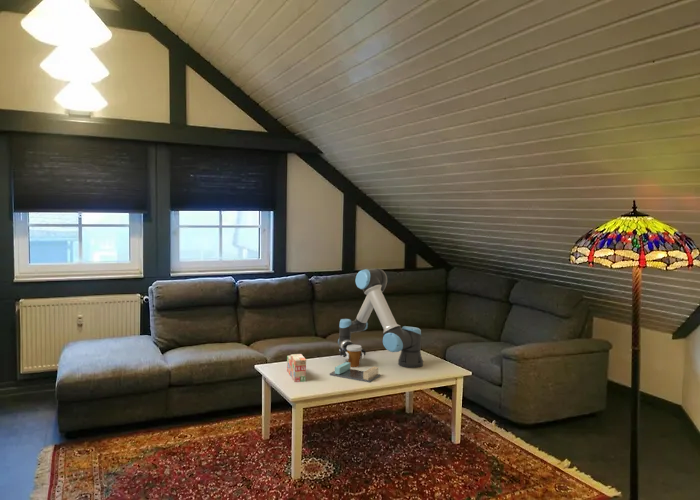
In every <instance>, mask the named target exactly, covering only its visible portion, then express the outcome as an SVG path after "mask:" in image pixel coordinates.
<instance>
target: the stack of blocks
mask: <svg viewBox="0 0 700 500" xmlns="http://www.w3.org/2000/svg"><path fill="white" fill-rule="evenodd" d="M286 361H287V362H286V368H287V369H286V371H287V373H288V375H289V376H290V377H291V379H292V381H293V383H301V382H303V383H304V382H307V381H306V378H307V377H306V376H307V372H306V371H307V359H306V358H305V356H303V354H302V353H294V354H293V353H292V354H290V355H287V356H286Z"/></svg>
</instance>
